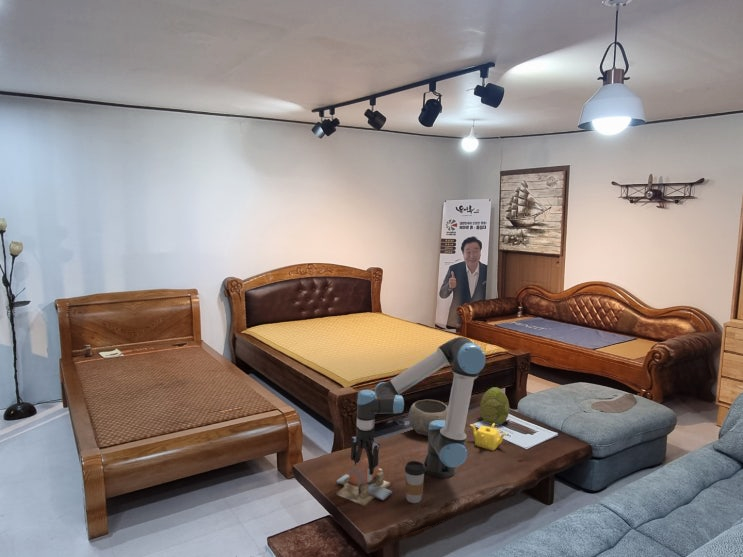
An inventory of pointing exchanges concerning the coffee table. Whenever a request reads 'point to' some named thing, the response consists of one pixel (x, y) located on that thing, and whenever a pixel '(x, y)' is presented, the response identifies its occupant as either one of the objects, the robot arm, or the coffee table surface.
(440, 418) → the bowl
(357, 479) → the reddish-brown block
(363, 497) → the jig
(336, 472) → the coffee table surface
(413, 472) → the coffee cup
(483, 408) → the decorative sculpture
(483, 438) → the teapot
